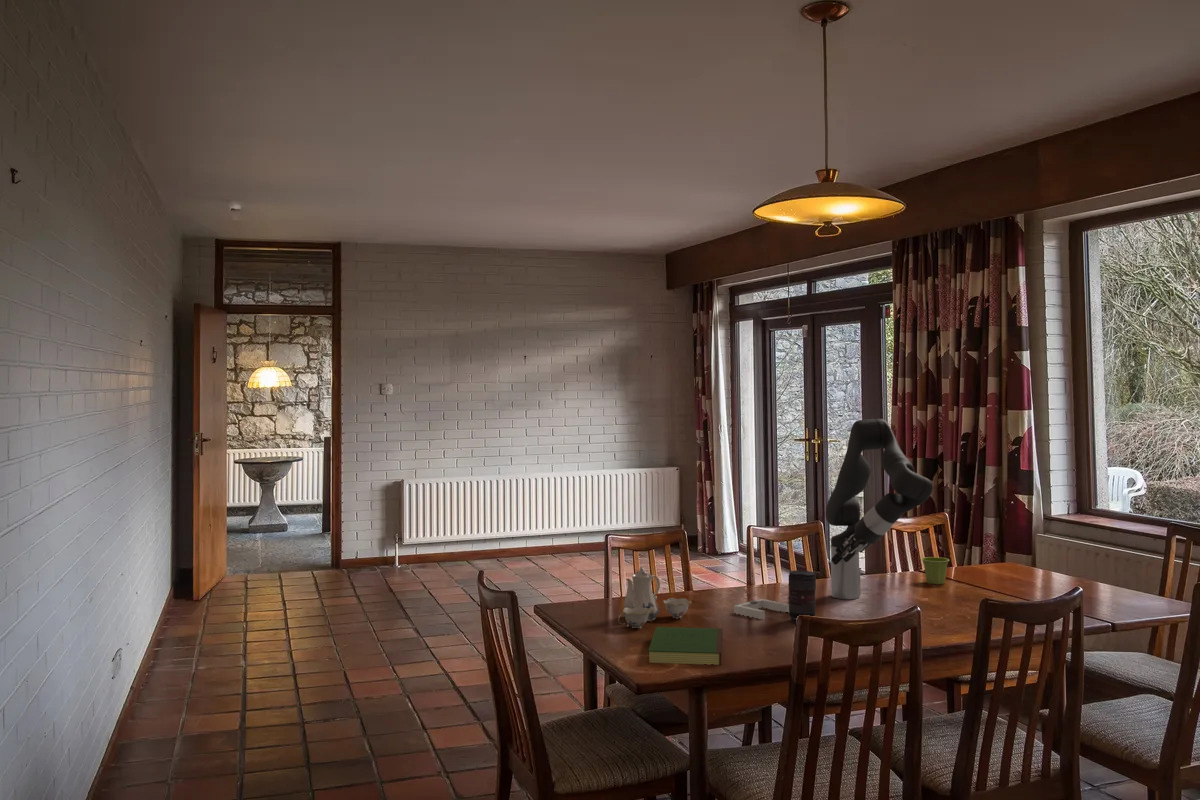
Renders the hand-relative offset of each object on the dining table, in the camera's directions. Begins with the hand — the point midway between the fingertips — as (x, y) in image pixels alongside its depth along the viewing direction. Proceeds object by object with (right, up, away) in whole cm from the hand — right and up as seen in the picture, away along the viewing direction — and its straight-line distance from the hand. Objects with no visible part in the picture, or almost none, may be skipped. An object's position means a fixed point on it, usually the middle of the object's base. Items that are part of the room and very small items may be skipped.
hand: (839, 560), depth 272 cm
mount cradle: (-19, -20, +21) cm, 35 cm away
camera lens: (-8, -20, +10) cm, 24 cm away
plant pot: (+51, -19, +63) cm, 84 cm away
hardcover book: (-46, -22, -20) cm, 55 cm away
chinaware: (-55, -21, +14) cm, 60 cm away
